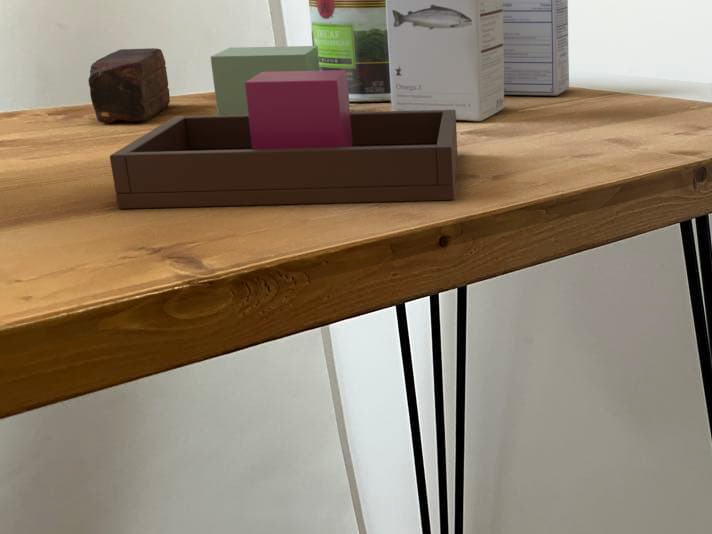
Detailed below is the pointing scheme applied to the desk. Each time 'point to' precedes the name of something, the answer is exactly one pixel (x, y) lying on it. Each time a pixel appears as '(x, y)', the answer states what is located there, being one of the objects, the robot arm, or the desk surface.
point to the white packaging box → (446, 56)
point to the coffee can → (354, 45)
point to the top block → (299, 109)
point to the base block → (254, 71)
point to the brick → (129, 85)
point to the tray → (288, 163)
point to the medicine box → (535, 47)
